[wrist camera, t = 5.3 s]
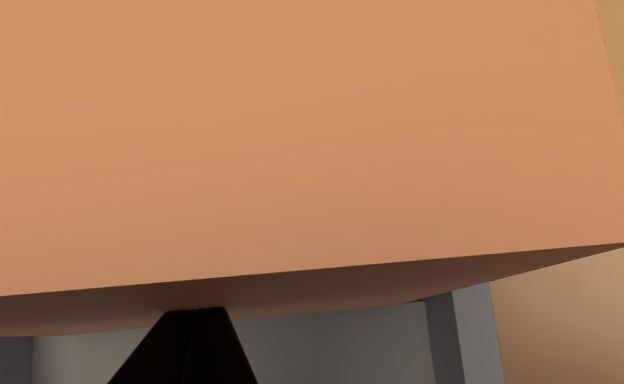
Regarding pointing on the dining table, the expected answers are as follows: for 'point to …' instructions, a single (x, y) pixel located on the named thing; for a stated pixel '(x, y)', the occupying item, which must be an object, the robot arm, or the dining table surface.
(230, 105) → the terracotta block
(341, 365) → the gray open tray
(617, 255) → the dining table surface
